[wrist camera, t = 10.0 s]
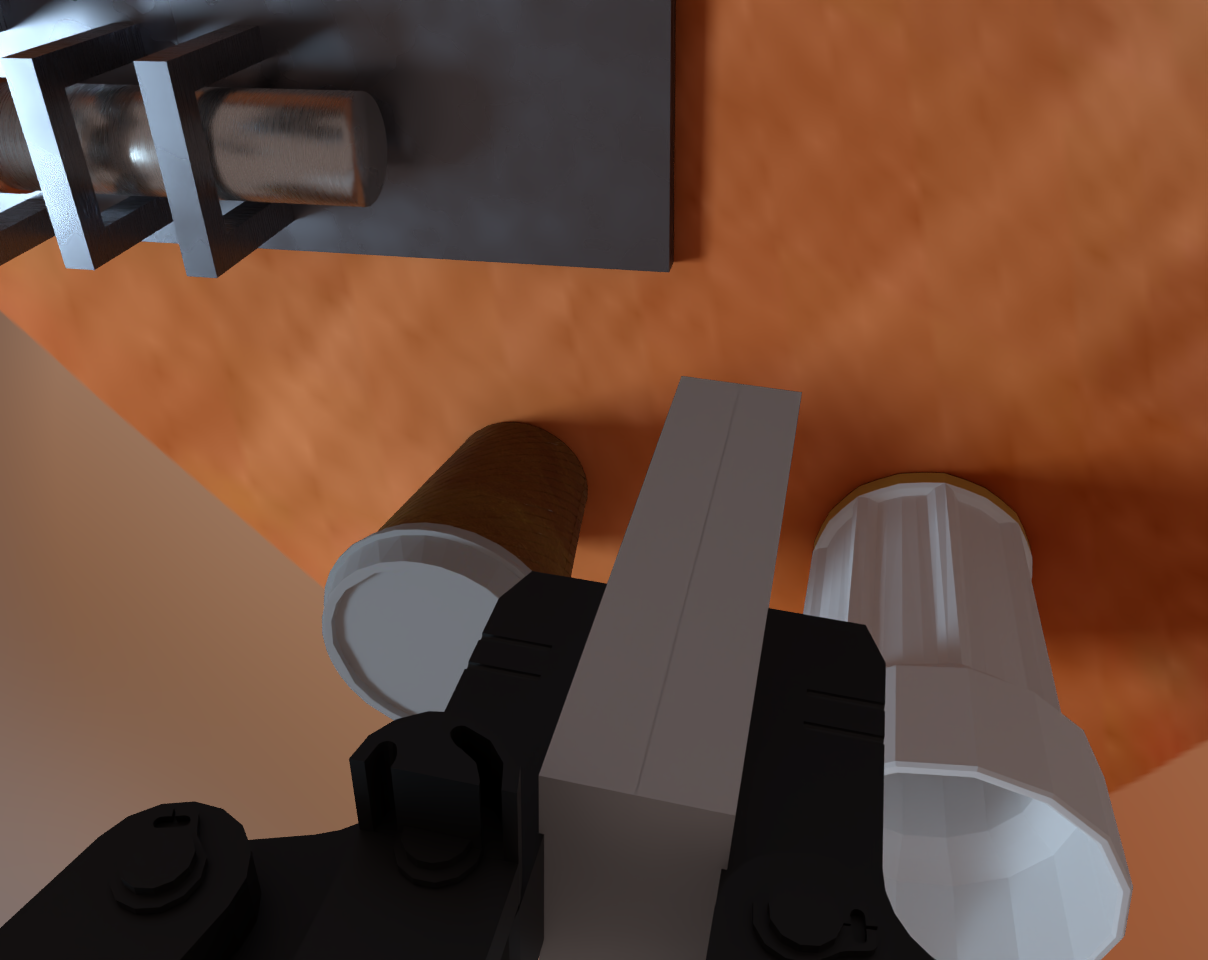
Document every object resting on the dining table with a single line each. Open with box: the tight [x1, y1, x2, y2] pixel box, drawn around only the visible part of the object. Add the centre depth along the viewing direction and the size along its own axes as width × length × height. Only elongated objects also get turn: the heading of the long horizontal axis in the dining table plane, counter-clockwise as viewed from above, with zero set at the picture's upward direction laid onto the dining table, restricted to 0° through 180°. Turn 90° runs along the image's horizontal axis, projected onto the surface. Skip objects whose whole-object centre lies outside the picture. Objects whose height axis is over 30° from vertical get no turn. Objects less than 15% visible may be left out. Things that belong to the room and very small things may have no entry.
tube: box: [0, 77, 387, 207], centre depth 40 cm, size 16×4×4 cm, turn 92°
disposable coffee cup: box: [322, 422, 587, 720], centre depth 45 cm, size 10×10×12 cm
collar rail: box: [0, 0, 676, 278], centre depth 39 cm, size 10×30×8 cm, turn 92°
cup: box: [803, 473, 1133, 960], centre depth 40 cm, size 11×11×17 cm
